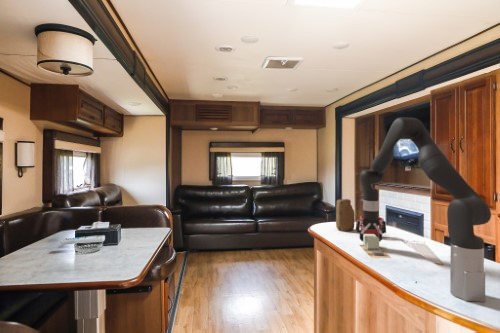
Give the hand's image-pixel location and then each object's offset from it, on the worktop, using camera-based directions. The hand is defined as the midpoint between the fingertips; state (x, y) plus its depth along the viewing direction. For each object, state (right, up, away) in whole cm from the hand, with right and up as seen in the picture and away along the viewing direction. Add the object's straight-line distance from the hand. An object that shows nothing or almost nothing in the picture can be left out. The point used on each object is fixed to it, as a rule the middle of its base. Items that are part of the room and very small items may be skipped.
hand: (370, 240), depth 152 cm
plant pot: (+10, -4, +24) cm, 27 cm away
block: (+1, -4, +43) cm, 43 cm away
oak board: (0, -5, -5) cm, 7 cm away
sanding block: (0, -3, 0) cm, 3 cm away
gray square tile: (-1, -4, -10) cm, 11 cm away
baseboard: (+23, -6, -5) cm, 24 cm away
